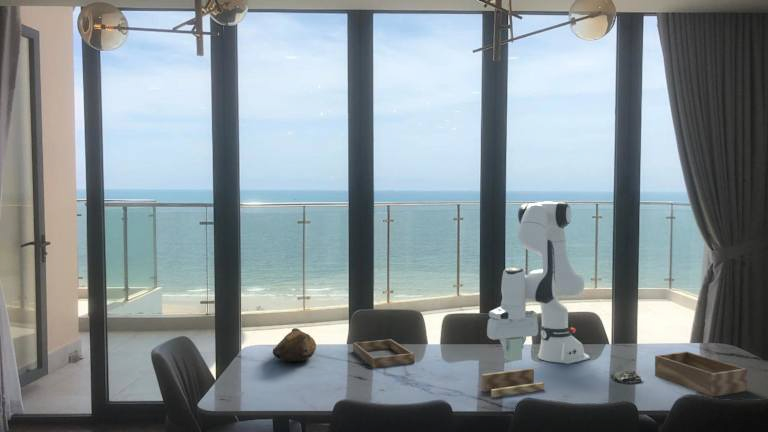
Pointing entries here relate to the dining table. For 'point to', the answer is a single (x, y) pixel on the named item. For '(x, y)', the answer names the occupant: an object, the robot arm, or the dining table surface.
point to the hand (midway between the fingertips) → (512, 349)
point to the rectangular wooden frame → (403, 357)
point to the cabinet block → (513, 349)
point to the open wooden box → (701, 373)
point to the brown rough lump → (295, 346)
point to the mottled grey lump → (626, 377)
